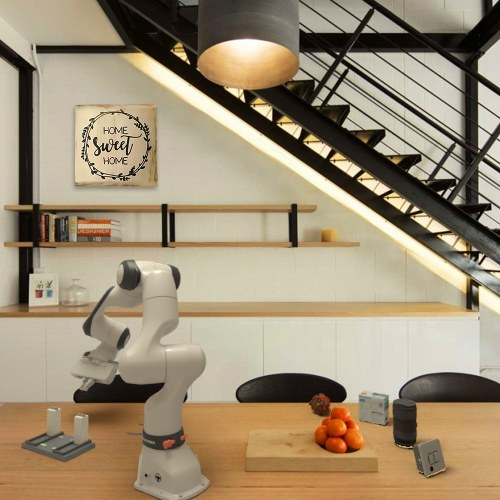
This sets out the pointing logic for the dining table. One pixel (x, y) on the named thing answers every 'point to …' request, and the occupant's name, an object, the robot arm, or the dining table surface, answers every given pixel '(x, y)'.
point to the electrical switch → (429, 456)
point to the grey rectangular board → (57, 446)
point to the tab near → (80, 428)
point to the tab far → (53, 421)
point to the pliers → (135, 433)
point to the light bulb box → (374, 407)
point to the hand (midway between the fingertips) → (82, 389)
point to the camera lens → (404, 422)
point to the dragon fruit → (320, 404)
